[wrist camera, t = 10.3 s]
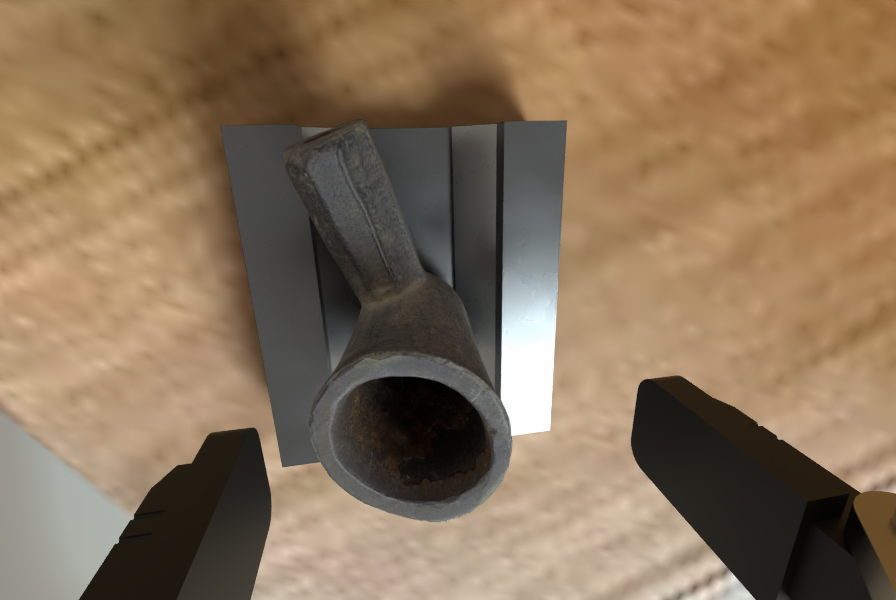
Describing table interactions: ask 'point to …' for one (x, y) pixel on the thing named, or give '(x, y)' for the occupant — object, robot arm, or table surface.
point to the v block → (438, 248)
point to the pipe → (396, 350)
